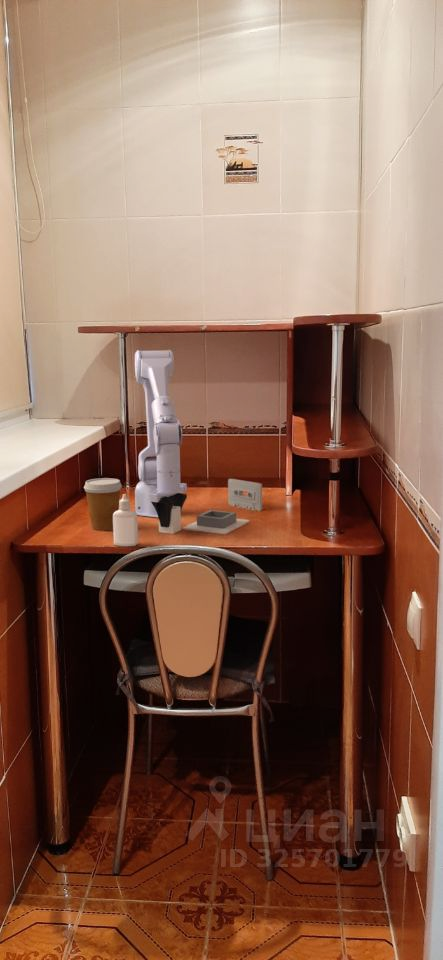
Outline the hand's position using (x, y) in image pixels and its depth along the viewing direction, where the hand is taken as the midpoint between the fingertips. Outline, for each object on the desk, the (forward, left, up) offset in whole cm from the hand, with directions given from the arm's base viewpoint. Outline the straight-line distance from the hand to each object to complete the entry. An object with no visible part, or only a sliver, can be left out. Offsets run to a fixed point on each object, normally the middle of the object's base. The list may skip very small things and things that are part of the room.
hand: (169, 524), depth 192 cm
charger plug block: (0, 0, -2) cm, 2 cm away
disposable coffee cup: (-17, -4, -2) cm, 18 cm away
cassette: (+6, +31, -2) cm, 32 cm away
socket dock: (+8, +10, -2) cm, 13 cm away
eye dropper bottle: (-3, -15, -2) cm, 15 cm away
